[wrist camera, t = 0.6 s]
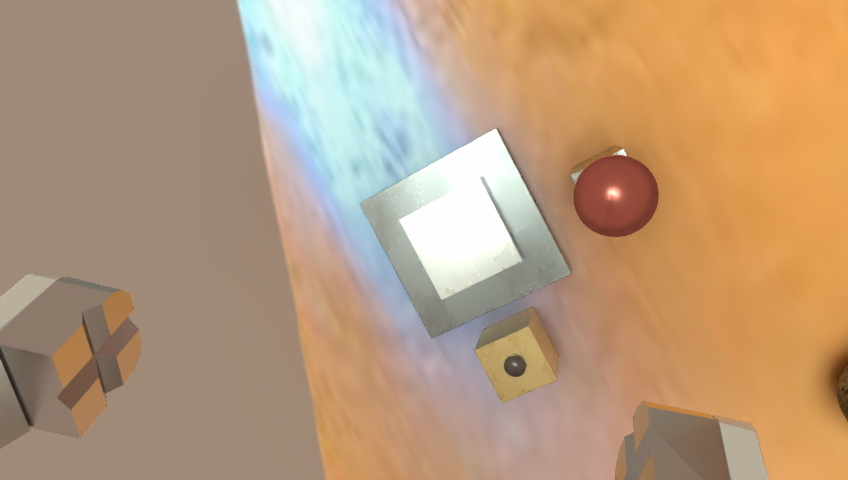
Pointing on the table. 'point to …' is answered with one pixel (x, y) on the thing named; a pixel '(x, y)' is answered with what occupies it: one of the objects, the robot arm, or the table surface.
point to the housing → (517, 355)
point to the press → (467, 234)
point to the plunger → (615, 195)
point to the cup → (843, 392)
